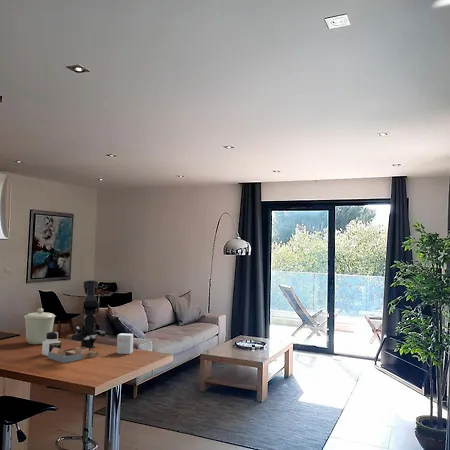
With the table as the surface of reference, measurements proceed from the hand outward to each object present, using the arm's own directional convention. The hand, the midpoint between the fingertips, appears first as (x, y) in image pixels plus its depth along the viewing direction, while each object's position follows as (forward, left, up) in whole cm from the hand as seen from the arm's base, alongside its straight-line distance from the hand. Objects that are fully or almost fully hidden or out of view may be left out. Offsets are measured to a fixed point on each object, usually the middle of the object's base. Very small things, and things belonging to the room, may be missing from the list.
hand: (88, 351), depth 239 cm
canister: (-1, -50, -3) cm, 50 cm away
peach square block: (+4, 0, -1) cm, 4 cm away
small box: (-19, +8, -3) cm, 21 cm away
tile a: (+13, -7, +2) cm, 15 cm away
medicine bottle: (+11, -18, -3) cm, 21 cm away
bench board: (+1, -4, -3) cm, 5 cm away
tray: (+12, -4, -3) cm, 13 cm away
